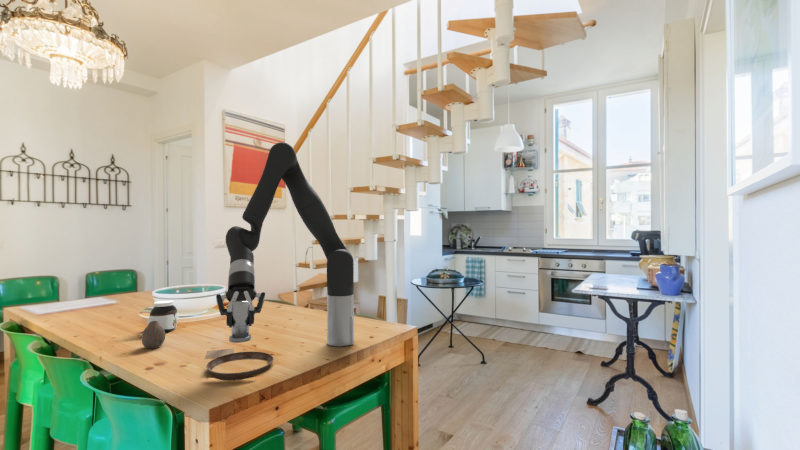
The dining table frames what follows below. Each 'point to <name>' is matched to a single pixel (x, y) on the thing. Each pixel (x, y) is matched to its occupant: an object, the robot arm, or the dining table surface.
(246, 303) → the metal cylinder canister
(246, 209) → the robot arm
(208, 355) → the stand
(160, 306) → the spread jar
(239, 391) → the dining table surface
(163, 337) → the dark brown oval lump
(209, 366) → the brown shallow round tray
